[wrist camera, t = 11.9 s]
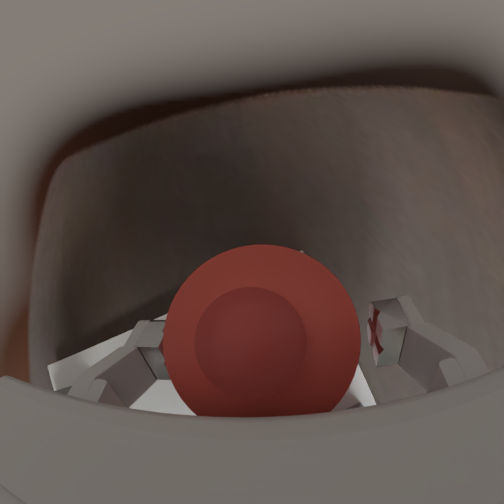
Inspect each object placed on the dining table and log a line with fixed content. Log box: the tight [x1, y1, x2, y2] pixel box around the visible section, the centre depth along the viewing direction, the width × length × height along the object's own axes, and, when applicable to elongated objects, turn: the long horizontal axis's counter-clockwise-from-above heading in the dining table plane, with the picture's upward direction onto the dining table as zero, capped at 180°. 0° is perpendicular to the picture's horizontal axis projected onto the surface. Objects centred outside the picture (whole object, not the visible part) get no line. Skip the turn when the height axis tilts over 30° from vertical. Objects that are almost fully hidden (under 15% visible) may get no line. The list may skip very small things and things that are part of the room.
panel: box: [48, 250, 376, 416], centre depth 13 cm, size 20×18×2 cm
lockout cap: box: [163, 244, 361, 417], centre depth 10 cm, size 5×5×9 cm
